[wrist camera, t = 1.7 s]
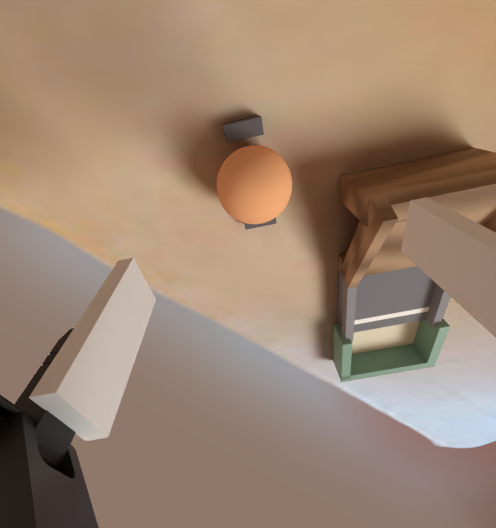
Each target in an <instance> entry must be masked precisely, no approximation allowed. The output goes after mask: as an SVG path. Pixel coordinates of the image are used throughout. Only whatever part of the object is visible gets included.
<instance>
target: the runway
mask: <svg viewBox="0 0 496 528" xmlns="http://www.w3.org/2000/svg"><path fill="white" fill-rule="evenodd" d="M343 279H344V277H343V276H342V275H341V273H340V271H339V269H338V325H339V327H340V329H341V331H342V333H343V336H344V338H345V340H347V339H350V340H351V342H352V341H353V336H354V332H360V331H365V330H371V329H377V328H382V327H388V326H393V325H399V324H404V323H410V322H416V321H421V320H426V321H427V322H428V323H429V325H430V326H431V327H435V326H436V324H437V323H441V322H442V319H443V316H444V313H445V310H446V308H447V305H448V302H449V299H450V295H448V294H447V293H446V292H445V291H444V290H443V289H442V288H441V287H440V286H439V285H437V284H436V283H435V282H434V281H433V280H432V279H431V278H430V277H429V276H427V275H426V274H425V273H424V272H423V271H422V270H421V269H420V268H419V267H418V266H415V267H410V268H405V269H399V270H394V271H389V272H384V273H378V274H373V275H368V276H363V277H362V279H361V281H360V282H359V284H358V286H357V287H352V288H348V283H347V282H346V280H345V279H344V280H343Z"/></svg>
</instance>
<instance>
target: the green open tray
mask: <svg viewBox="0 0 496 528" xmlns="http://www.w3.org/2000/svg"><path fill="white" fill-rule="evenodd" d="M449 327H450V326H449V325H448V324H447V322H446V321H445V320H444V319H442V322H441V323H437V324H436V326H435V327H431V326H430V325H429V323H428V322H427V321H426V320H421V321H416V322H410V323H404V324H399V325H393V326H388V327H382V328H377V329H371V330H365V331H360V332H354V336H353V341H352V342H351V340H350V339H347V340H345V338H344V336H343V333H342V331H341V329H340V327H339V325H338V323H336V324H333V361H334V364H335V366H336V369H337V372H338V374H339V377H340V379H341V382H344V381H350V380H356V379H362V378H368V377H374V376H380V375H386V374H392V373H398V372H403V371H409V370H415V369H421V368H427V367H433V366H435V363H436V360H437V358H438V355H439V353H440V350H441V348H442V345H443V343H444V340H445V338H446V335H447V332H448V330H449Z"/></svg>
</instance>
